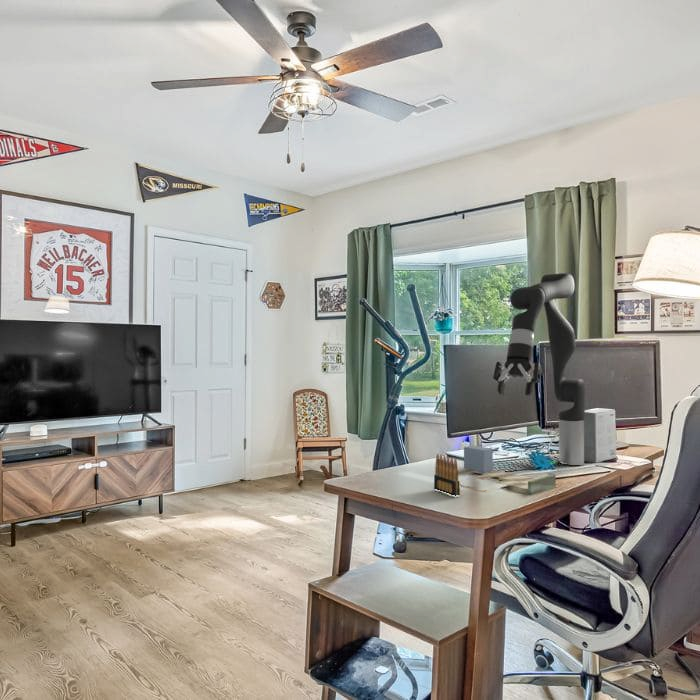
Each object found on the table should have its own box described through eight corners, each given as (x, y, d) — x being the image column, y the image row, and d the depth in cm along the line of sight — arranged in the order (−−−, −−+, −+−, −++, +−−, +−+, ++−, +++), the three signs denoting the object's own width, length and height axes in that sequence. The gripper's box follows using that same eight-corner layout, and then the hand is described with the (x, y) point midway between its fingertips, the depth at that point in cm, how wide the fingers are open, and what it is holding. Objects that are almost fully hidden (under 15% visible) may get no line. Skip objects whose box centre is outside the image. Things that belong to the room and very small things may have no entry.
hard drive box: (599, 455, 234) (598, 407, 234) (616, 458, 228) (616, 409, 228) (577, 460, 225) (577, 410, 225) (595, 463, 219) (595, 412, 219)
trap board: (449, 475, 200) (449, 464, 200) (477, 469, 210) (477, 458, 210) (531, 494, 175) (531, 482, 175) (559, 486, 185) (558, 474, 185)
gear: (536, 471, 199) (527, 448, 206) (528, 480, 203) (519, 457, 210) (562, 473, 202) (552, 450, 209) (554, 482, 206) (544, 459, 213)
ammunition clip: (433, 490, 181) (433, 453, 181) (438, 489, 182) (438, 452, 182) (455, 498, 172) (455, 459, 172) (460, 497, 173) (459, 458, 172)
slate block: (464, 468, 205) (463, 447, 205) (472, 466, 208) (472, 445, 208) (484, 473, 198) (484, 450, 198) (492, 470, 201) (492, 448, 201)
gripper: (547, 349, 176) (540, 399, 172) (504, 349, 185) (497, 396, 181) (539, 341, 171) (532, 392, 166) (495, 341, 180) (487, 390, 175)
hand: (513, 394), depth 173 cm, fingers open, 8 cm apart
